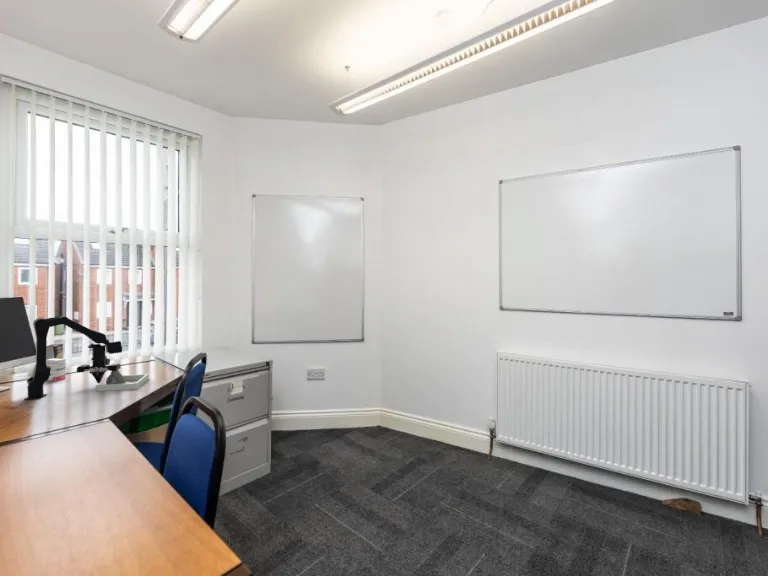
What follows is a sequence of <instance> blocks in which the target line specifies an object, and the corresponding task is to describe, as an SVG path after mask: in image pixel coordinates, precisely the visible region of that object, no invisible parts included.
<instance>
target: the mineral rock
mask: <svg viewBox="0 0 768 576" xmlns="http://www.w3.org/2000/svg"><path fill="white" fill-rule="evenodd" d="M122 375H123V374H122V373H120V371H119V369H117V370H116V371H110V373H109V375H108V376H107V377H106V381H105V385H109V384H126V381H125V379H124V377H123V376H122Z"/></svg>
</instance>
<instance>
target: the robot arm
mask: <svg viewBox="0 0 768 576" xmlns="http://www.w3.org/2000/svg"><path fill="white" fill-rule="evenodd" d="M61 325H63V326H66V327H68V328H70V329H72V330H74V331H76V332H78V333H81V334H82V335H84V336H86V337H87V338H88V339H89V340H91V341H92V343H91V342H90V344H89V345H88V346H87V348H88V349H92V352H91V353H92V357H91V359H90V360H91V361H92V365H90V364H81V365H79V366H77V367H76V373H84V372H85V371H89V372H88V374H91V375H92V377H93V378H94V379H95V381H96V383H97V384H101V382H102V379H103V378H104V375H105V373H106V372H108V371H109V372H112V371H116V370H117V369H118V370H120V369H121V364H120V363H111V364H110V362H111V359H110V358H107V355H106V353H108V354H109V355H111V354H119V353H120V354H121V353H122V352H123V345H122V342H121V340H116V341H109V340H108V339H107V335H106V334H105V333H103V332H100V331H97V330H94V329H91V328H88V327H86V326H84V325H82V324H80V323H78V322H76V321H74V320H73V319H71V318H69V317H67V316H66V315H61V316H56V317H55V316H54V317H47V318H45V317H38V318H35V320H34V321H33V323H32V326H33V329H34V333H35V339H36V341H35V364H34V367H33V372H32V374H31V376H30V377H29V378H28V379H27V380H26V383H27V397H24V400H25V401H27V400H39V399H42V398H44V397H46V396H48V393H44V384H45V383H46V382H47V381H49V380H48V379H49V375H50V376H51V374H50V370H51V367H50V366H47V365H46V346H47V336H48V335H49V334H48V333H49V330H50V328H53V327H56V326H61ZM93 342H94V343H96V344H94V343H93Z"/></svg>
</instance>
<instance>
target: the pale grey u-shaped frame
mask: <svg viewBox="0 0 768 576" xmlns="http://www.w3.org/2000/svg"><path fill="white" fill-rule="evenodd" d="M122 376H123V377H124V379H125V383H126V381H127V382H128V381H136V382H133V383H132V382H128V383H126V384H109V385H107V384H96V385H95V391H96V392H105V391H106V392H107V391H121V390H136V389H138V388H140V387H141V386H142V385H143V384H145V383H146V382H148V380H149V378H150V376H149V373H143V374H125V375H123V374H122Z"/></svg>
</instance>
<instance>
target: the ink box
mask: <svg viewBox="0 0 768 576" xmlns="http://www.w3.org/2000/svg"><path fill="white" fill-rule="evenodd" d="M46 365H47V366H50V367H51V370H50V374H51V376H50V375H49V379H48V380H47V381H54V382H57V381H58V382H59V381H63V380H65V379H67V377H66V374H67V373H66V368H67V367H66V365H67V364H66V358H63V359H48V360H46Z"/></svg>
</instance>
